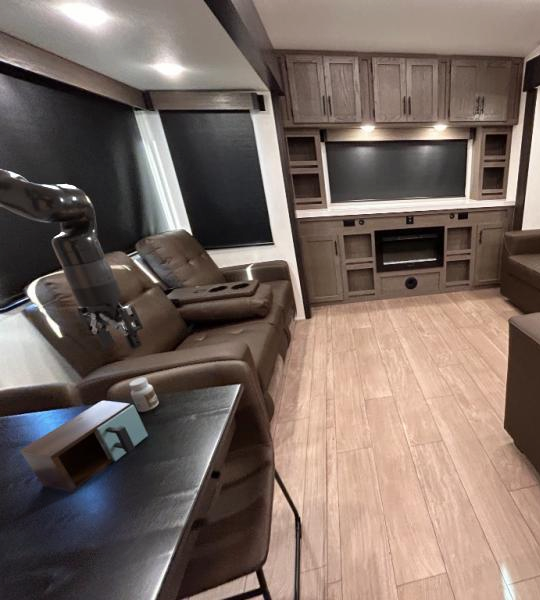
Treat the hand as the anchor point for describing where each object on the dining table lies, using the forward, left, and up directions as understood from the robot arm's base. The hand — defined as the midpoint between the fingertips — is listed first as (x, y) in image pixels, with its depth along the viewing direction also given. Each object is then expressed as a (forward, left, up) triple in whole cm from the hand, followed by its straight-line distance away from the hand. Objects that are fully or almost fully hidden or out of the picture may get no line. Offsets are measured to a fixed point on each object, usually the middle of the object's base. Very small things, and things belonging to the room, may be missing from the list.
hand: (122, 346), depth 75 cm
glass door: (+12, -12, -17) cm, 24 cm away
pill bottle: (0, 0, -18) cm, 18 cm away
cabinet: (+5, -16, -17) cm, 24 cm away
